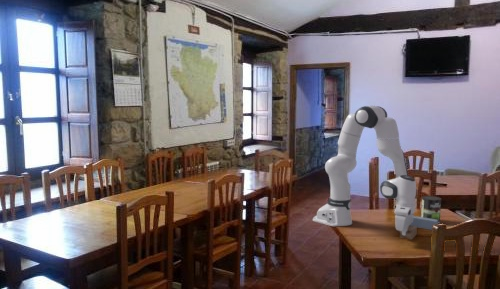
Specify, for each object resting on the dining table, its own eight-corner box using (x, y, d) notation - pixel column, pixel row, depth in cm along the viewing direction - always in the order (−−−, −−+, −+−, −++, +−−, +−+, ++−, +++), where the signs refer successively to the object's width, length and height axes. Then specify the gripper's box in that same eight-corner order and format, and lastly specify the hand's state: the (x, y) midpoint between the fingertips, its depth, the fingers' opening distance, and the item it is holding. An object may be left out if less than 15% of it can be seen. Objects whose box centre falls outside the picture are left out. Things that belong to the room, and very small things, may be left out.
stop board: (397, 223, 227) (398, 215, 226) (399, 222, 230) (400, 213, 229) (435, 230, 215) (436, 221, 214) (437, 228, 218) (437, 219, 218)
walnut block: (399, 237, 205) (399, 229, 204) (404, 232, 213) (405, 224, 212) (411, 240, 201) (412, 231, 201) (416, 234, 209) (417, 226, 209)
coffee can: (444, 223, 227) (445, 199, 226) (427, 224, 225) (429, 200, 224) (432, 218, 237) (433, 195, 236) (416, 219, 235) (418, 196, 234)
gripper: (404, 202, 209) (403, 228, 211) (393, 211, 193) (392, 239, 195) (417, 204, 206) (416, 230, 207) (406, 213, 189) (405, 241, 191)
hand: (404, 234), depth 201 cm, fingers closed
